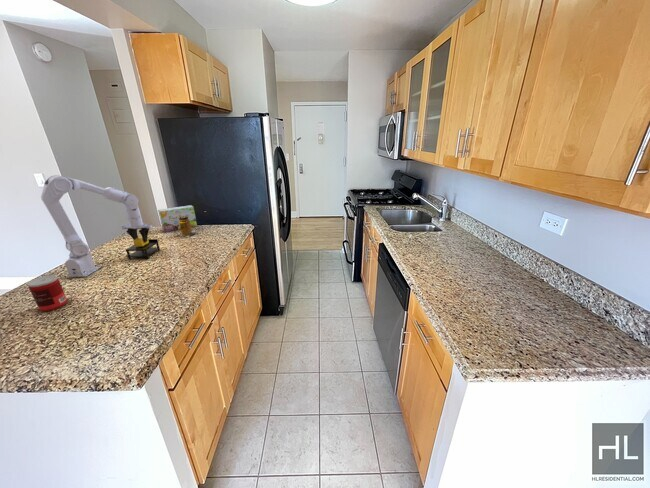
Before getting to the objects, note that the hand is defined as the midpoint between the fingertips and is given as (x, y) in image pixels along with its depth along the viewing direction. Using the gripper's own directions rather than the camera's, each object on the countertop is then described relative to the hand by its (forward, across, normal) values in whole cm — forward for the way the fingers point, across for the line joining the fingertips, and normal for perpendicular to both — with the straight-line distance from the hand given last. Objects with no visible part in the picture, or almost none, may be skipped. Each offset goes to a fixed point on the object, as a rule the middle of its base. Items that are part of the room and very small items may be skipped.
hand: (141, 241), depth 138 cm
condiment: (+8, -9, -33) cm, 35 cm away
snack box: (+8, +2, -46) cm, 47 cm away
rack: (+8, 0, 0) cm, 8 cm away
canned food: (+8, +6, +47) cm, 48 cm away
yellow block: (+2, 0, 0) cm, 2 cm away
